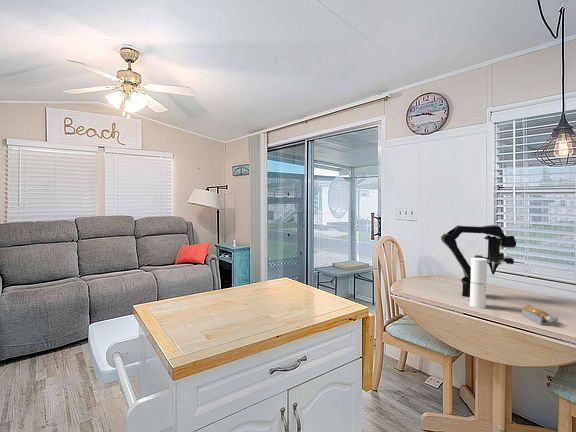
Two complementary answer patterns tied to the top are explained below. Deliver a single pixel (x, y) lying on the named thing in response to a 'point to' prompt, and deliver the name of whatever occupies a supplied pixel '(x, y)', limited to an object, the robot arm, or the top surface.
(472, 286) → the cylindrical container
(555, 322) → the grey cradle
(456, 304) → the top surface
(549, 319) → the amber bottle
